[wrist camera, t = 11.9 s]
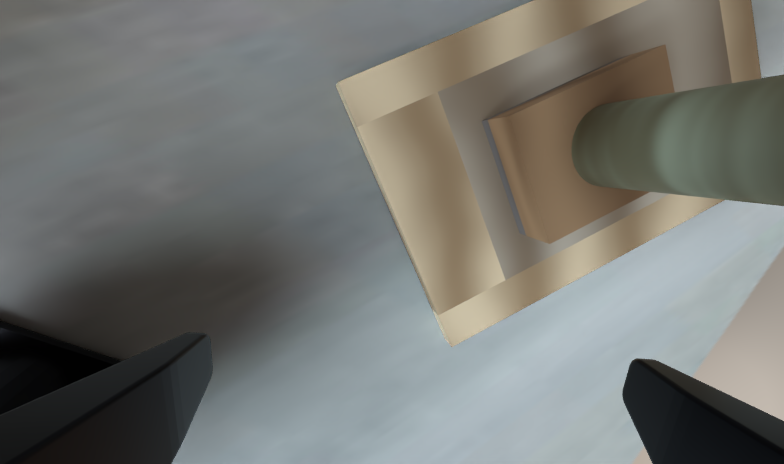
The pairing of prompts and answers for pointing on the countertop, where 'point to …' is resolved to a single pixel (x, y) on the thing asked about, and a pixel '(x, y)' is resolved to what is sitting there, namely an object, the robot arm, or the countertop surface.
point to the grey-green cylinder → (636, 144)
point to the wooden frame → (474, 155)
